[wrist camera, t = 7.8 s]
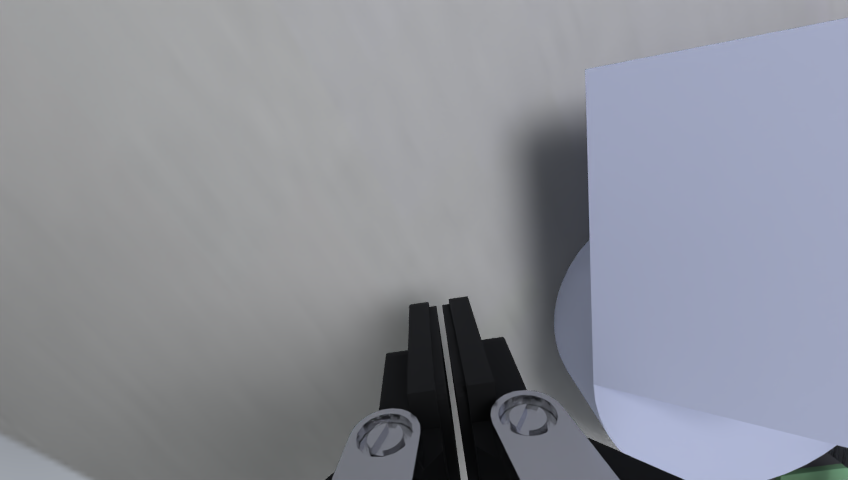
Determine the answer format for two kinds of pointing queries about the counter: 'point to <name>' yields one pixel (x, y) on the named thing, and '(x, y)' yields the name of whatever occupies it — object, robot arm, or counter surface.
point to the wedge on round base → (716, 256)
